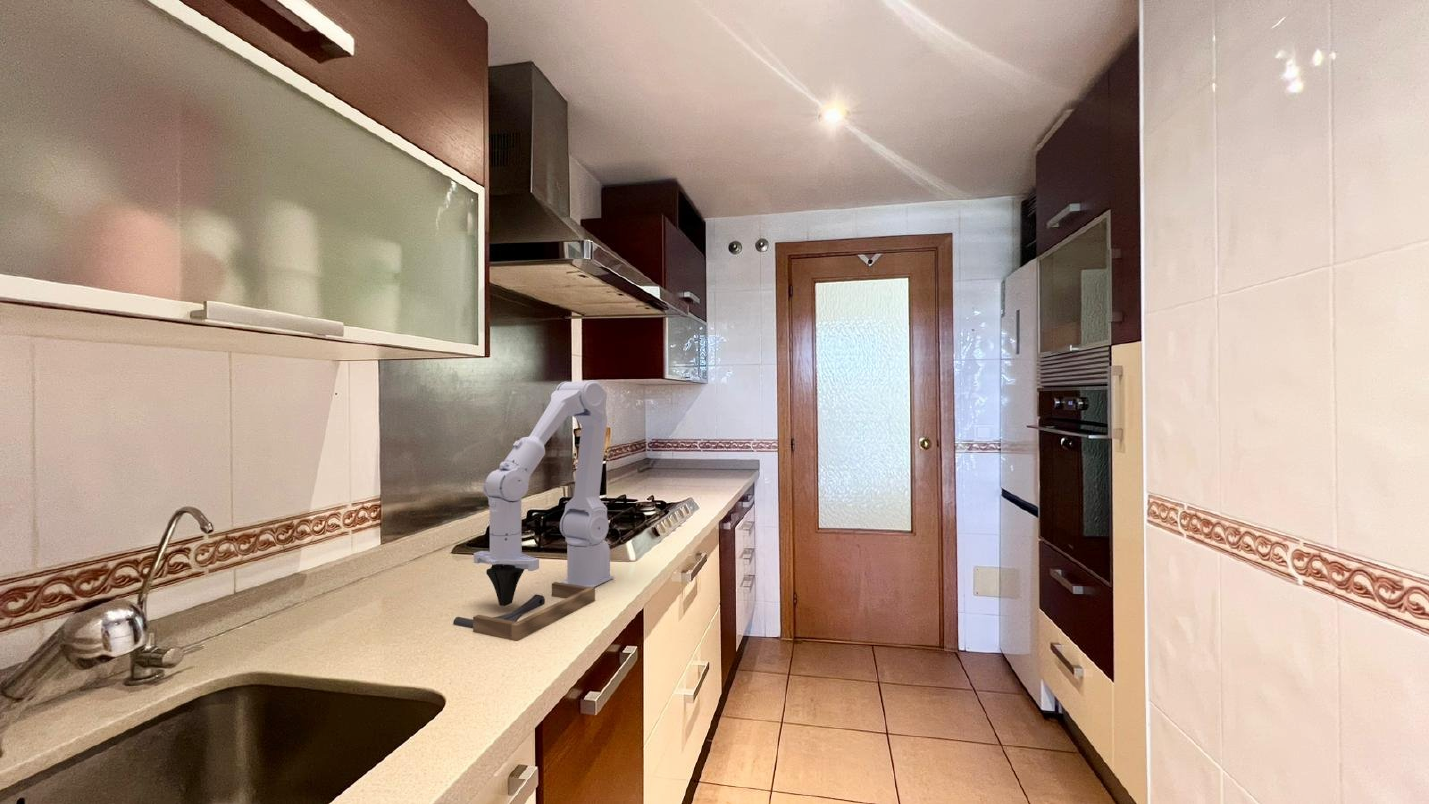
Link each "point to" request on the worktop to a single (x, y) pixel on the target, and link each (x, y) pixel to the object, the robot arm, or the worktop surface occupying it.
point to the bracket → (513, 616)
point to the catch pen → (534, 622)
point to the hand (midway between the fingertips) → (505, 604)
